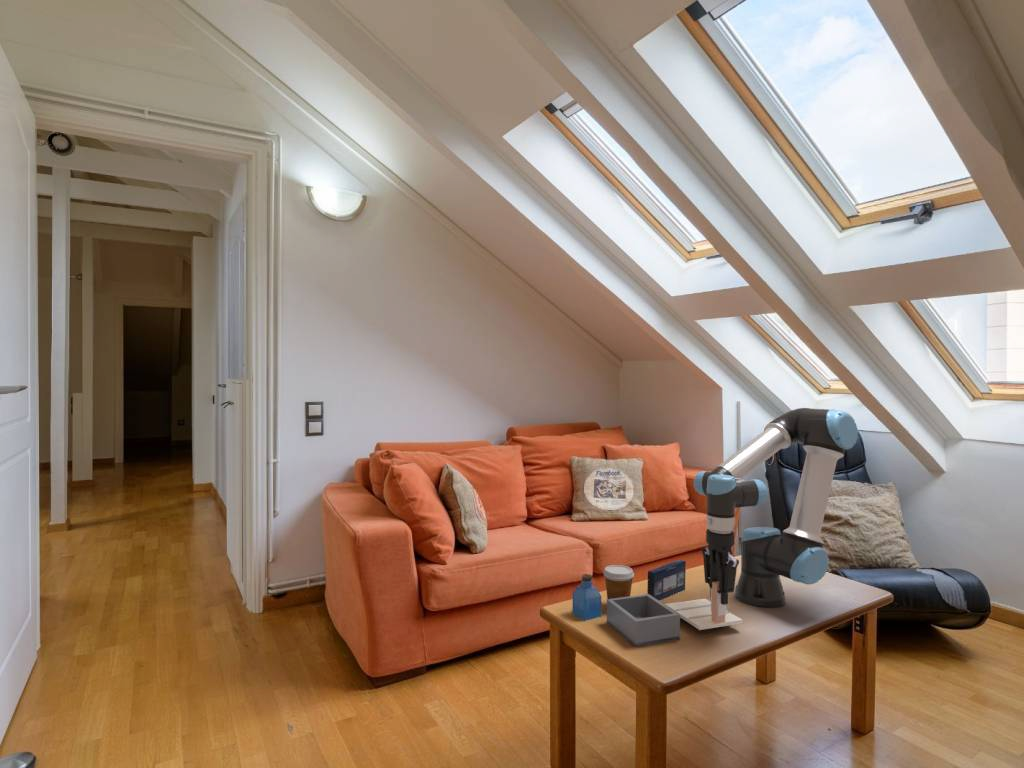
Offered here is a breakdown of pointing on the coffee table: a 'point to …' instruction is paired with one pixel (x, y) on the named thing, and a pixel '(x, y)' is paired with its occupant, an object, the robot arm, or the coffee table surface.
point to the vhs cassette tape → (667, 580)
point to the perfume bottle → (586, 599)
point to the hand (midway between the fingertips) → (718, 612)
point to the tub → (643, 620)
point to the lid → (704, 612)
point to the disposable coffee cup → (618, 581)
